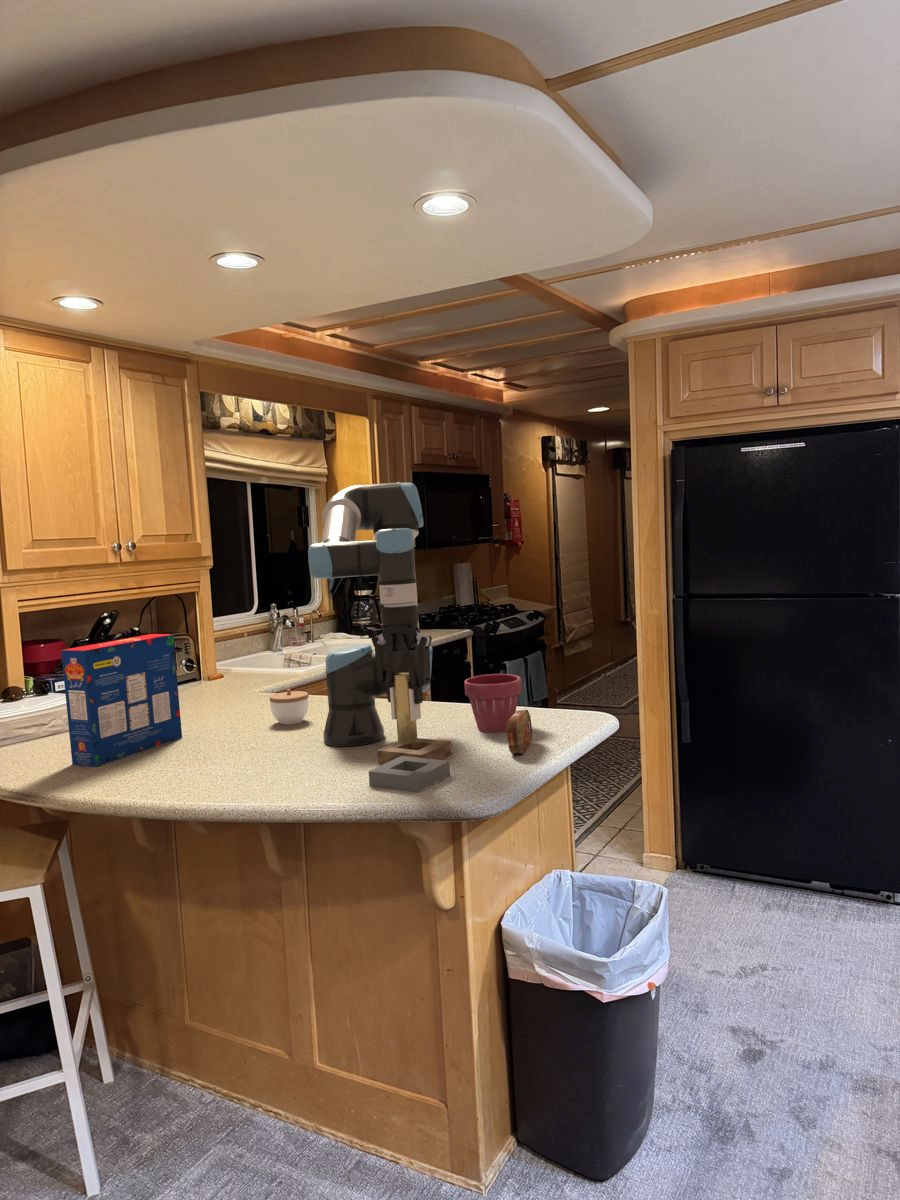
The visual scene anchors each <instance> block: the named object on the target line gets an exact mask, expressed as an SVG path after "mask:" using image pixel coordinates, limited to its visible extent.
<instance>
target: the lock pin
mask: <svg viewBox="0 0 900 1200" xmlns="http://www.w3.org/2000/svg"><path fill="white" fill-rule="evenodd" d="M411 686H412V685H411V681H410V676H409V672H403V673H396V674H394V688H395V703H396V718H397V719H396V728H397V729H396V730H397V741H398V743H400V744H411V743H415V742H417V741H418V740H417V738H418V730H417V728H418V727H417V726H418V725H417V720H415V721H411V718H410V703H409V689H410V687H411Z"/></svg>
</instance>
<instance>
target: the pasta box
mask: <svg viewBox="0 0 900 1200" xmlns="http://www.w3.org/2000/svg"><path fill="white" fill-rule="evenodd" d="M60 652H61V663H62V671H63V685H64V693H65V702H66V703H65V705H66V713H67V722H68V723H67V724H68V735H69V743H70V753H71V754H70V755H71V763H72V765H73V766H79V767H81V766H82V767H90V768H98V767H101V766H103V765H106V764H109V763H113V762H115V761H118V760H119V761H120V760H121V759H124V758H127V757H130V756H133V755H135V754H138V753H141V752H146V751H147V750H151V749H154V748H156V747H160V746H162V745H166V744H168V743H171V742H174V741H177V740H181V739H183V732H182V720H181V718H182V717H181V711H180V710H181V708H180V698H179V697H180V696H179V687H178V674H177V663H176V654H175V653H176V650H175V640H174V634H173V633H170V634H169V633H163V634H162V633H149V634H144V635H140V636H133V637H128V638H127V637H126V638H121V639H116V640H112V641H111V640H110V641H106V642H101V643H95V644H88V645H82V646H76V647H72V648H67V649H61V650H60Z"/></svg>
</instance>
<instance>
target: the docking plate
mask: <svg viewBox="0 0 900 1200" xmlns="http://www.w3.org/2000/svg"><path fill="white" fill-rule="evenodd" d="M450 765H451V764H450V760H445V759H444V760H443V759H441V760H436V759H427V758H418V757H408V756H400V757H398V758H396V759H394V760H392V761H389V762H387V763H385V764H381V765H379V766H377V767H375V768H372V769H370V770H368V783H369V784H368V785H369V786H370V785H372V786H371V787H376V786H379V787H378V788H384V787H387V788H386V789H391V788H394V789H393V790H399V789H400V791H406V790H407V792H414V791H415V792H414V793H420V792H421V790H422V791H424V790H426V789H427V788H429V787H431V786H432V784H433V785H435V784H436V783H438V782H440V781H442V780H444V779H446V778H447V777H449V776H451V767H450ZM445 777H446V778H445ZM443 778H444V779H443ZM441 779H442V780H441ZM439 780H440V781H439ZM437 781H438V782H437ZM435 782H436V783H435ZM434 783H435V784H434ZM430 785H431V786H430ZM428 786H429V787H428ZM426 787H427V788H426ZM425 788H426V789H425ZM423 789H424V790H423Z"/></svg>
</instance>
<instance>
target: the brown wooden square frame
mask: <svg viewBox="0 0 900 1200" xmlns="http://www.w3.org/2000/svg"><path fill="white" fill-rule="evenodd" d="M417 740H418V741H417V742H415V743H411V744H400V743H398V740H397V741H395V742H393V743H390V744H389V745H386V746H384V747H381V748H379V749H377V750H376V751H377V764H379V765H380V764H381V765H383V764H385V763H387V762H389V761H392V760H394V759H396V758H398V757H400V756H408V757H418V758H427V759H436V760H443V759H445V758H447V757H449V756H451V755H452V754H453V753H452V751H453V750H452V741H451V740H441V739H432V738H431V739H429V738H420V737H417Z"/></svg>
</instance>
